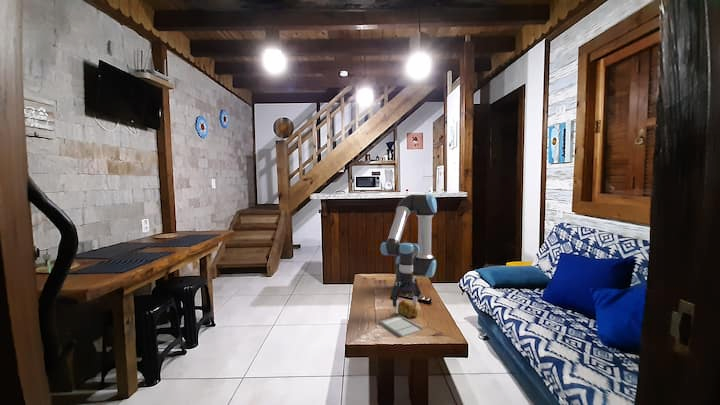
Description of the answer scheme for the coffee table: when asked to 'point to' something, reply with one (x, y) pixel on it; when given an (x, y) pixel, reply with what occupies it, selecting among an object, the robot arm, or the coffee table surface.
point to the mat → (400, 326)
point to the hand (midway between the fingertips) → (405, 310)
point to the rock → (407, 310)
